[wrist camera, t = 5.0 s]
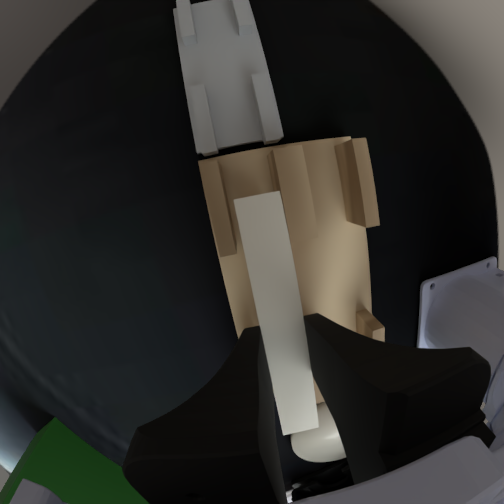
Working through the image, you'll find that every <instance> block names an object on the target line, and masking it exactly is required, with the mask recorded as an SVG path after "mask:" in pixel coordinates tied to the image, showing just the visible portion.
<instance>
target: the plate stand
mask: <svg viewBox="0 0 504 504" xmlns="http://www.w3.org/2000/svg"><path fill="white" fill-rule="evenodd" d="M176 4H177V8H175V9H173V13H174V20H175V27H176V34H177V41H178V47H179V54H180V60H181V66H182V73H183V79H184V85H185V91H186V96H187V102H188V108H189V113H190V119H191V124H192V130H193V135H194V140H195V146H196V151H197V154H203V155H204V156H209V155H214V154H218V150H220V149H225V148H230V147H235V146H240V145H245V144H251V143H256V142H262V141H263V142H264V145H265V144H271V143H278V142H279V141H280V139H281V138H283V137H284V136H283V131H282V126H281V122H280V117H279V113H278V109H277V104H276V100H275V96H274V92H273V88H272V83H271V79H270V75H269V71H268V68H267V64H266V60H265V56H264V52H263V49H262V45H261V41H260V38H259V34H258V30H257V27H256V23H255V20H254V17H253V13H252V10H251V6H250V3H249V0H211V1H206V2H201V3H196V4H190V0H176Z"/></svg>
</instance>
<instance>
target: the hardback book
mask: <svg viewBox="0 0 504 504" xmlns="http://www.w3.org/2000/svg"><path fill="white" fill-rule="evenodd" d="M22 479H27V480H30V481H32V482H34V483H37V484H39V485H42V486H44V487H46V488H48V489H49V490H51V491H52V492H53V493H55V494H56V495H57V496H58V497H59V498H60V499H61V500H62V502H65V503H68V504H149V503H148V502H147V501H146V500H145V499H144V498H143V497H142V496H141V495H140V494H139V493H138V492H137V491H136V490H135V489H134V488H133V487H132V486H131V485H130V484H129V482H128V481H127V480H126V478H125V477H124V475H123V471H122V467H120V466H119V465H117V464H115V463H114V462H112V461H111V460H109V459H108V458H107V457H105V456H104V455H102V454H101V453H99V452H98V451H97V450H95V449H94V448H92V447H91V446H90V445H88V444H87V443H86V442H85V441H83V440H82V439H81V438H79V437H78V436H77V435H76V434H74V433H73V432H72V431H71V430H70V429H68V428H67V427H66V426H65V425H64V424H62V423H61V422H60V421H59V420H58V419H57V418H56V417H54V418H53V419H52V420H51V421H50V422H49V423H48V424H46V425H45V426H44V427H43V428H42V429H41V430H40V431H39V432H38V433H37V434H36V435H35V437H34V438H33V440H32V441H31V443H30V444H29V446H28V448H27V449H26V451H25V452H24V454H23V455H22V457H21V459H20V460H19V462H18V463H17V465H16V467H15V468H14V470H13V472H12V473H11V475H10V477H9V478H8V480H7V482H6V483H5V485H4V487H3V489H2V491H1V492H0V504H9V503H10V502H11V500H12V498H13V496H14V494H15V492H16V490H17V488H18V487H19V485H20V483H21V481H22Z"/></svg>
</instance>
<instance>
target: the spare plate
mask: <svg viewBox="0 0 504 504" xmlns="http://www.w3.org/2000/svg"><path fill="white" fill-rule="evenodd" d="M316 406H317V414H318V423H319V427H318V428H314V429H310V430H305V431H301V432H297V433H292V434H291V444H292V448H293V451H294V452H295V454H296V455H297V456H299V457H300V458H302V459H304V460H308V461H312V462H330V461H335V460H339V459H343V458H346V454H345V451H344V448H343V445H342V442H341V438H340V435H339V432H338V430H337V427H336V424H335V422H334V419H333V417H332V415H331V413H330V411H329V409H328V407H327V405H326V403H325V402H322V403H320V404H318V405H316Z"/></svg>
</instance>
